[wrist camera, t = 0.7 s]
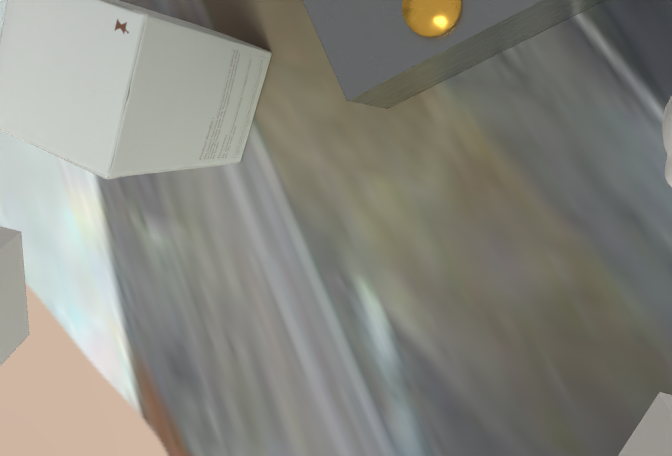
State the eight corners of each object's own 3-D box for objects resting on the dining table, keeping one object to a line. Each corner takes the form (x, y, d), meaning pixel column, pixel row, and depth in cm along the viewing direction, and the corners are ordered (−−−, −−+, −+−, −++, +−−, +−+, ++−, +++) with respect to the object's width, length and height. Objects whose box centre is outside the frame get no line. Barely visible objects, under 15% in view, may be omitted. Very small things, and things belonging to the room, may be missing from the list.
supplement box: (173, 15, 38) (9, -40, 26) (276, 52, 36) (150, 11, 24) (143, 127, 40) (-23, 124, 28) (240, 168, 38) (107, 182, 26)
